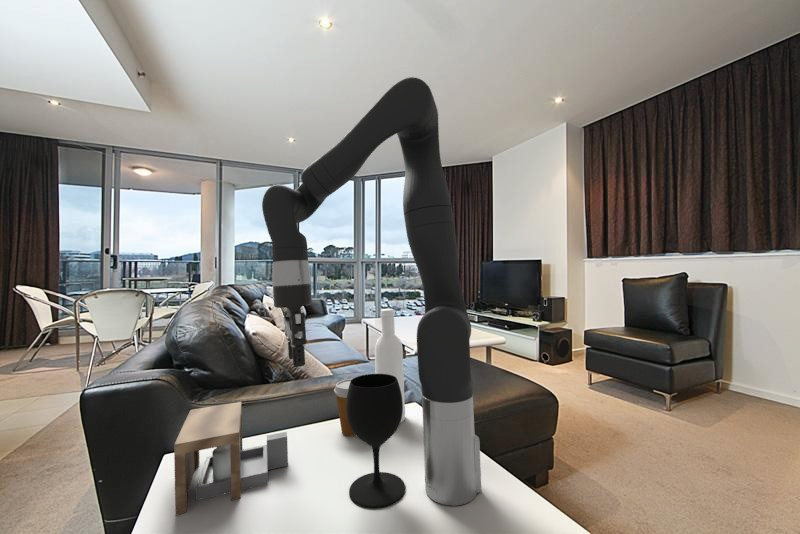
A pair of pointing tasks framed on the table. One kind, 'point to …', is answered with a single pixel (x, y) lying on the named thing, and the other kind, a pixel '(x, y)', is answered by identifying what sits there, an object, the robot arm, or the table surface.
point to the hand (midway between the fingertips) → (296, 362)
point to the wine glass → (375, 435)
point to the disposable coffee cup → (343, 405)
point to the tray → (242, 466)
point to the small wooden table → (207, 446)
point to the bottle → (390, 352)
